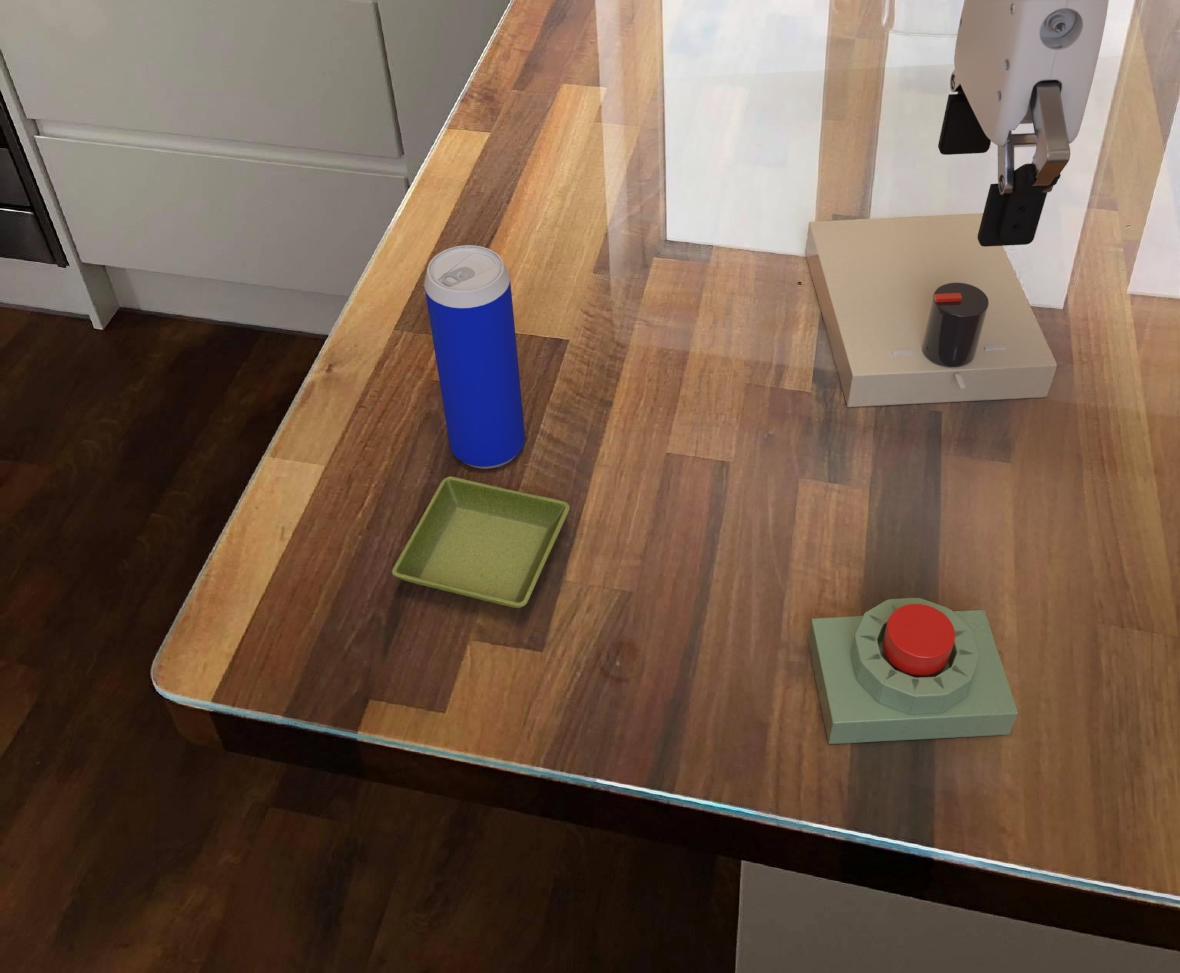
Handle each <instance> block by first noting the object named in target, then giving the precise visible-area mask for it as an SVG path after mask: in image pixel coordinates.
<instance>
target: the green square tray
mask: <svg viewBox="0 0 1180 973" xmlns="http://www.w3.org/2000/svg"><path fill="white" fill-rule="evenodd" d="M570 510H571V506H570V504H569V503H568V502H566V501H564V500H560V499H556V498H552V497H548V496H547V497H546V496H542V495H537V494H533V493H527V492H524V491H518V490H513V489H509V488H505V487H499V486H497V485H491V484H487V483H483V482H478V481H473V480H469V479H465V478H460V477H456V476H452V475H451V476H447V477H444V478H443V479H442V480H441V482H440V483H439V485H438V486H437V488H436V491H435V492H434V494H433V496H432V498H431V499H430V502H429V503H428V505H427V507H426V509H425V511H424V513H423V514H422V516H421V518H420V520H419V521H418V524H417V525H416V527H415V528H414V530H413V531H412V534H411V535H410V538H408V541H407V542H406V544H405V546H404V548H403V550H402V552H401V553H400V555H399V557H398V559H397V560H396V562H395V564H394V566H393V567H392V570H391V574H392V575H393V576H394V577H396V578H398V579H400V580H402V581H404V582H407V583H412V584H416V585H420V586H422V587H423V586H424V587H427V588H432V589H437V590H441V591H444V592H449V593H452V594H456V595H461V596H464V597H469V598H472V599H477V600H480V601H485V602H489V603H492V604H496V605H501V606H505V607H507V608H513V609H520V608H523V607H525V606H526V605H527V604H528V602H529V600H530V598H531V596H532V593H533V591H534V589H535V586H536V584H537V582H538V580H539V577H540V576H541V574H542V572H543V569H544V567H545V564H546V562H547V560H548V558H549V556H550V553H551V551H552V549H553V547H554V545H555V542H556V541H557V538H558V536H559V534H560V531H561V529H562V528H563V525H564V522H565V521H566V518H567V516H568V514H569V511H570Z"/></svg>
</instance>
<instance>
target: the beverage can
mask: <svg viewBox="0 0 1180 973" xmlns="http://www.w3.org/2000/svg"><path fill="white" fill-rule="evenodd" d="M423 286H424V293H425V300H426V305H427V312H428V317H429V324H430V331H431V336H432V343H433V350H434V356H435V357H434V358H435V362H436V369H437V374H438V382H439V387H440V394H441V400H442V407H443V412H444V418H445V425H446V431H447V438H448V443H449V449H450V451H451V453H452V454H453V455H454V457H456V459H458V460H460V461H461V462H462V463H464V464H465V465H467V466H469V467H472V468H474V469H482V470H488V469H489V470H490V469H495V468H499V467H502V466H504V465H507V464H508V463H510V462H511V461H512V460H513V459H515V457H517V455H519V454H520V452H521V451H522V450H523V447H524V445H525V442H526V432H525V421H524V411H523V410H524V409H523V400H522V388H521V380H520V379H521V376H520V367H519V357H518V348H517V336H516V324H515V315H514V304H513V293H512V283H511V275H510V272H509V270H508V268H507V266H506V264H505V262H504V260H503V259H502V257H501V256H500V255H499V254H498V253H497V252H496V251H494V250H492V249H490V248H488V247H484V246H481V245H475V244H474V245H473V244H466V245H465V244H464V245H457V246H452V247H448V248H447V249H444V250H442V251H440V252H439V253H437V254H436V255H434V256H433V257H432V259H431V260H430V261H429V262H428V265H427V268H426V273H425V278H424V282H423Z"/></svg>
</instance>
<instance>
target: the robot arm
mask: <svg viewBox="0 0 1180 973" xmlns="http://www.w3.org/2000/svg"><path fill="white" fill-rule="evenodd" d="M1109 1H1110V0H964V1H963V5H962V10H961V14H960V18H959V24H958V28H957V35H956V40H955V46H954V47H955V48H954V56H953V57H954V58H953V63H954V64H953V65H954V70H953V71H952V72H951V74H950V78H949V88H950V91H951V93H949V94H948V95H947V100H946V106H945V110H944V114H943V121H942V125H941V129H940V135H939V139H938V144H937V149H938V151H939V153H940V154H941V155H943V156H951V155H972V154H985V153H987V152H988V151H989V150H990V148H991V144H992V143H993V144H994V145H995V146H997V183H990V184H989V189H988V193H987V197H986V201H985V204H984V209H983V212H982V213H983V216H982V220H981V224H980V228H979V232H978V236H977V238H978V241H979V243H980V245H981V246H984V247H988V246H1003V247H1007V246H1026V245H1029V244H1031V243H1032V242H1033V241H1034V240H1035V236H1036V234H1037V230H1038V226H1039V222H1040V220H1041V215H1042V212H1043V209H1044V206H1045V202H1046V199H1047V196H1048V193H1051V192H1052V190H1053V188H1054V186H1056V185H1057V183H1058V181H1059V180H1060V178H1061V175H1062V174H1061V173H1062V172H1063V170H1064V169H1065V167H1066V166H1067V164H1068V163H1069V162H1070V158H1071V147H1070V144H1072V143H1073V142H1074V141H1075V140H1076V138H1077V137H1078V136H1079V132H1080V129H1081V126H1082V122H1083V119H1084V115H1085V113H1086V108H1087V104H1088V100H1089V96H1090V92H1091V88H1092V86H1093V85H1092V84H1093V80H1094V77H1095V73H1096V68H1097V65H1098V59H1099V55H1100V51H1101V46H1102V41H1103V38H1104V37H1103V36H1104V31H1105V26H1106V21H1107V15H1108V14H1107V13H1108V8H1109ZM1028 124H1032V126H1033V132H1026V133H1025V132H1024V133H1012V132H1013V131H1015V130H1016V129H1017V128H1019V126H1020V125H1028ZM1033 147H1035V152H1034V154H1033V156H1032V161H1031V163H1024V164H1023V165H1021V166H1019V167H1017V168H1015V148H1033Z"/></svg>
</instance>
